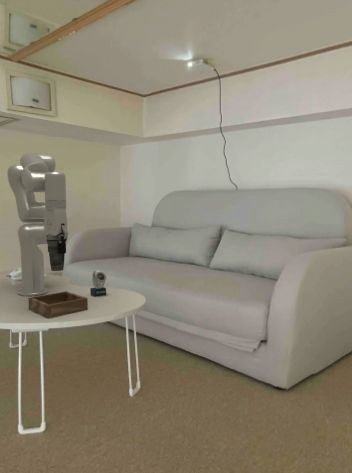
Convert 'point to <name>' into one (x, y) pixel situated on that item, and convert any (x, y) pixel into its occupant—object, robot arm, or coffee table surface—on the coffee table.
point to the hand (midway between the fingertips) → (56, 252)
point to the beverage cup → (55, 254)
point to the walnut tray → (58, 304)
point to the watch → (98, 284)
